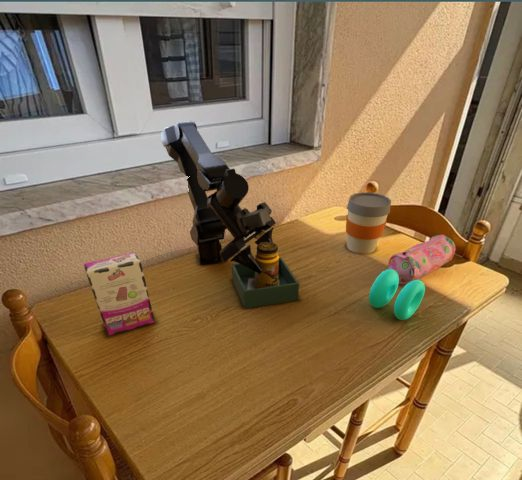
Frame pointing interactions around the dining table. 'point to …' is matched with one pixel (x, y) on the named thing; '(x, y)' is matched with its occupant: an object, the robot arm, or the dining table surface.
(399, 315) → the donuts
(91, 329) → the dining table surface
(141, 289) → the candy bar box
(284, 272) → the square tray
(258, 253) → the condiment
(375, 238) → the reusable coffee cup
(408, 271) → the pencil case
